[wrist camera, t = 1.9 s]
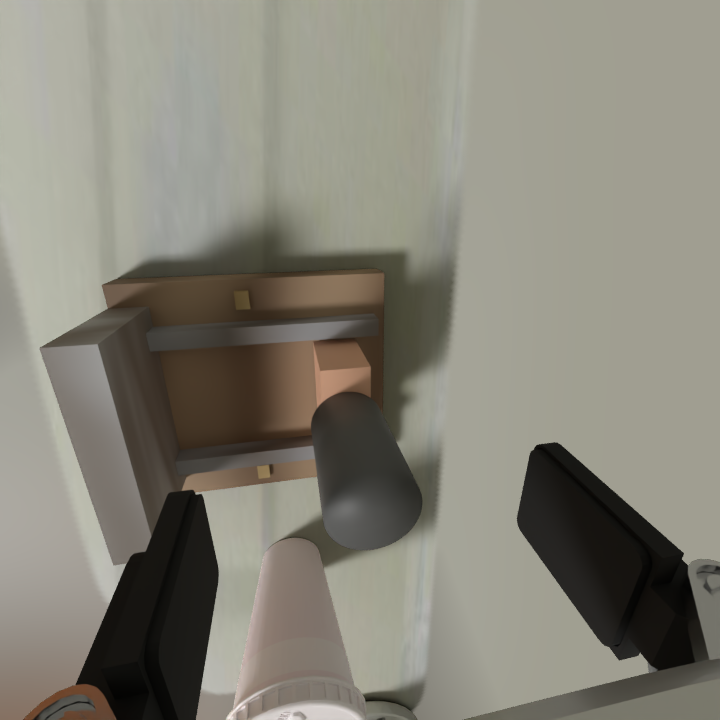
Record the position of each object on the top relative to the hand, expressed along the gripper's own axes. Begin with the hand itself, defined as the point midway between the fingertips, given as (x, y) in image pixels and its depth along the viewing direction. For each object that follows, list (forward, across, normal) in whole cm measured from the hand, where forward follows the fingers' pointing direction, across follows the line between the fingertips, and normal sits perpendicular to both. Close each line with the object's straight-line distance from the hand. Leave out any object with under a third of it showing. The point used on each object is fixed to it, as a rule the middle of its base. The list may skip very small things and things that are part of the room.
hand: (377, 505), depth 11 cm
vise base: (+11, +4, +1) cm, 11 cm away
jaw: (+9, 0, +1) cm, 9 cm away
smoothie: (+11, +3, +14) cm, 18 cm away
